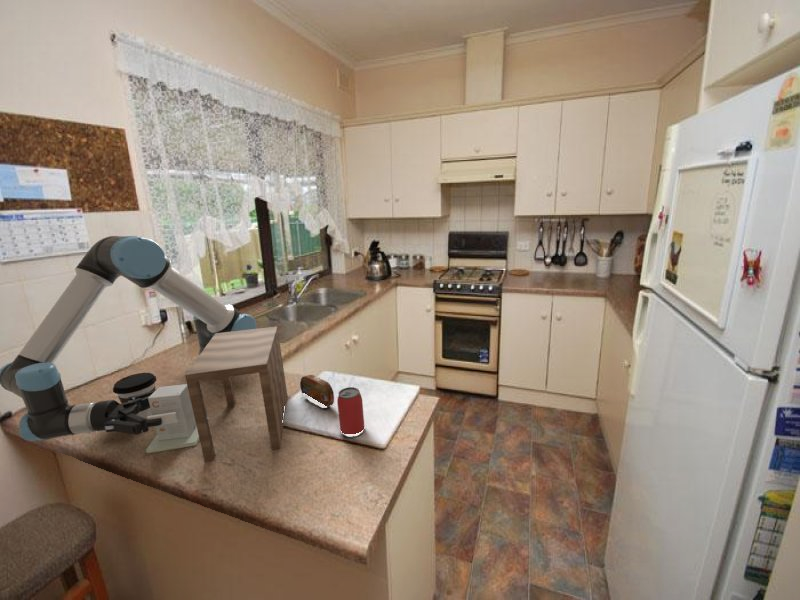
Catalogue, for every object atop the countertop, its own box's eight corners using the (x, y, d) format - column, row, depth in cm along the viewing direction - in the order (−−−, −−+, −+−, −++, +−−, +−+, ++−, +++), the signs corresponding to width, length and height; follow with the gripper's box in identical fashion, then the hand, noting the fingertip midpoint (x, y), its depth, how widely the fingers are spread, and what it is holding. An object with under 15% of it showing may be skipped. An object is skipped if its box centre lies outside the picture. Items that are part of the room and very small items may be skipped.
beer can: (338, 428, 102) (333, 389, 99) (360, 421, 105) (357, 383, 102) (344, 441, 97) (339, 401, 93) (367, 434, 99) (364, 394, 96)
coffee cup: (113, 422, 111) (102, 386, 107) (148, 403, 121) (139, 369, 117) (138, 428, 107) (128, 391, 104) (172, 408, 117) (164, 373, 114)
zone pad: (164, 426, 107) (163, 423, 107) (208, 419, 109) (208, 416, 109) (146, 453, 96) (146, 450, 95) (196, 445, 98) (196, 441, 98)
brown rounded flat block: (300, 397, 120) (297, 373, 117) (309, 393, 122) (306, 370, 120) (328, 413, 110) (325, 388, 107) (337, 408, 112) (334, 384, 110)
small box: (199, 423, 106) (190, 383, 102) (190, 437, 100) (179, 394, 96) (169, 427, 105) (159, 386, 101) (158, 441, 99) (146, 398, 95)
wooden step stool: (229, 403, 118) (215, 333, 111) (287, 394, 121) (277, 326, 115) (204, 462, 91) (184, 374, 85) (279, 448, 95) (266, 363, 88)
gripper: (123, 404, 109) (201, 393, 113) (71, 460, 86) (171, 443, 90) (117, 381, 107) (196, 371, 111) (62, 432, 84) (165, 416, 88)
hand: (185, 403), depth 101 cm, fingers open, 13 cm apart
